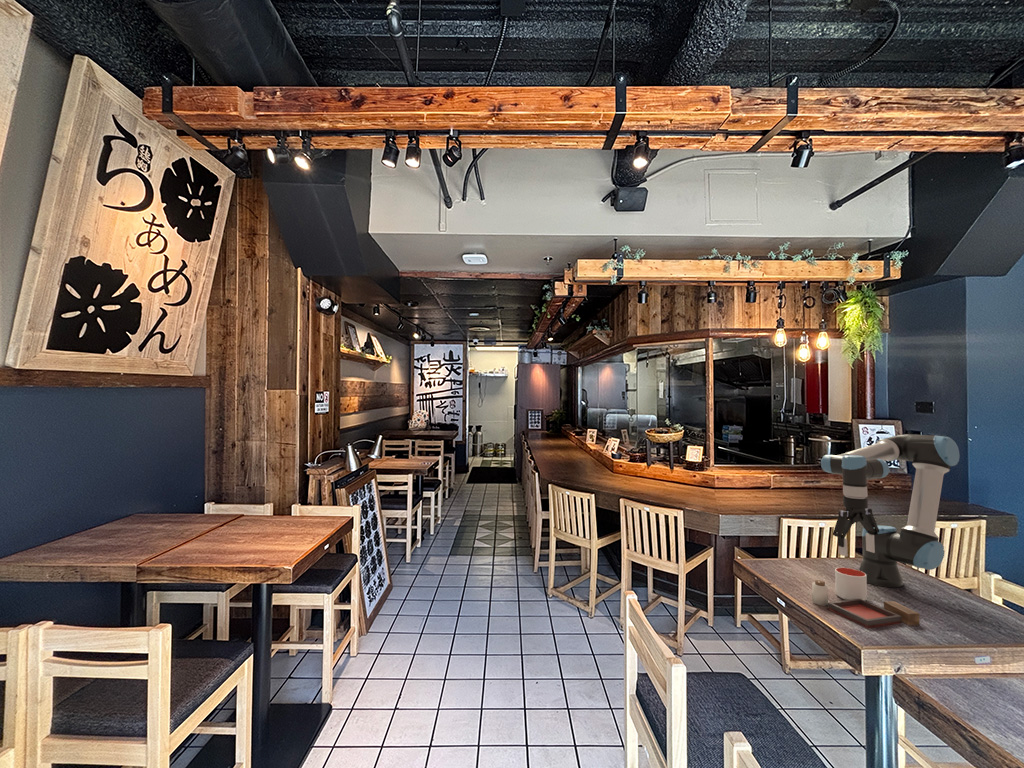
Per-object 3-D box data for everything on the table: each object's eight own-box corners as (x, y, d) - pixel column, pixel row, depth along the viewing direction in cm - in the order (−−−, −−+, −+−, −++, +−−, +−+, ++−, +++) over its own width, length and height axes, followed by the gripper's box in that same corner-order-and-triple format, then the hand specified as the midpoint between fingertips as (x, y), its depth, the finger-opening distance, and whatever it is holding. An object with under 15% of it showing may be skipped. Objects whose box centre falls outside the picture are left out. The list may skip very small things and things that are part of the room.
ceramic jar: (819, 599, 182) (819, 578, 183) (831, 605, 178) (831, 583, 178) (809, 601, 181) (808, 579, 181) (820, 606, 176) (820, 584, 177)
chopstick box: (894, 612, 172) (894, 601, 172) (919, 625, 162) (919, 613, 162) (884, 612, 172) (883, 601, 172) (908, 625, 162) (908, 613, 162)
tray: (859, 605, 178) (859, 598, 178) (901, 623, 163) (901, 616, 163) (827, 609, 174) (827, 602, 174) (867, 628, 159) (867, 620, 160)
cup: (872, 604, 178) (871, 577, 179) (842, 602, 180) (842, 575, 181) (858, 594, 188) (858, 568, 189) (830, 591, 190) (830, 566, 191)
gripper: (869, 492, 185) (871, 547, 185) (820, 497, 178) (822, 553, 178) (889, 496, 178) (891, 553, 178) (839, 501, 171) (841, 560, 171)
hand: (856, 553), depth 178 cm, fingers open, 13 cm apart
